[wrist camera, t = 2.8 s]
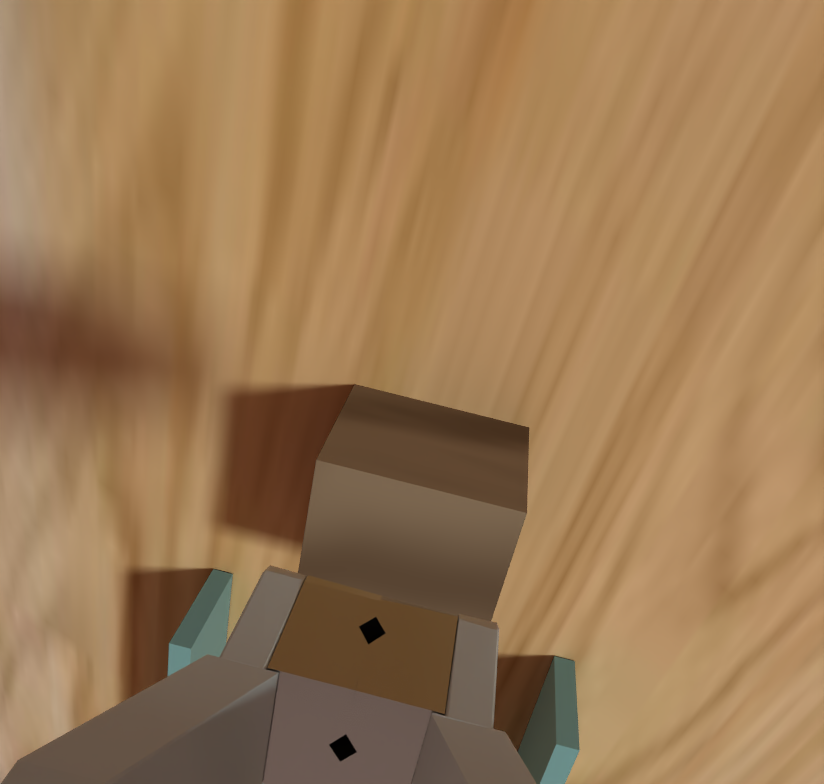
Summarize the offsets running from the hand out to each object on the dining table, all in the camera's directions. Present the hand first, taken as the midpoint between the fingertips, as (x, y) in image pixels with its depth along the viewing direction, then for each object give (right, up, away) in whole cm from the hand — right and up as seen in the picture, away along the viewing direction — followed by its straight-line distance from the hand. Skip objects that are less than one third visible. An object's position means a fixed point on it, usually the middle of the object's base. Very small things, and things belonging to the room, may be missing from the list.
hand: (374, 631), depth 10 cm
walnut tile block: (+1, 0, +17) cm, 17 cm away
